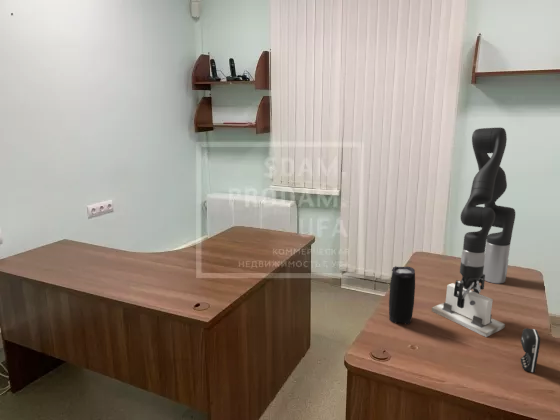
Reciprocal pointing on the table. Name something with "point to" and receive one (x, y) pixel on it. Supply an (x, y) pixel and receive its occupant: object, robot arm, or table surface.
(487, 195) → the robot arm
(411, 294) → the portable speaker
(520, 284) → the table surface
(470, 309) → the door
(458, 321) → the cabinet side
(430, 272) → the table surface
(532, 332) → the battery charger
